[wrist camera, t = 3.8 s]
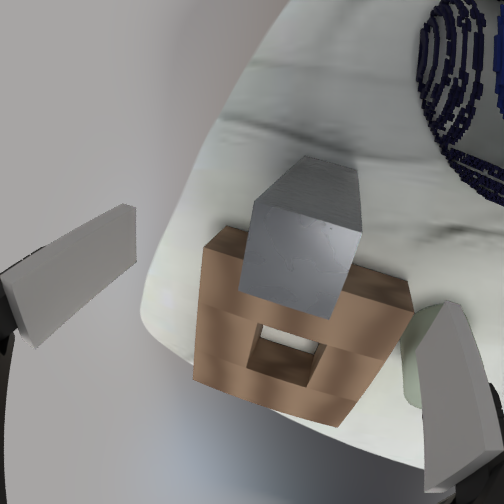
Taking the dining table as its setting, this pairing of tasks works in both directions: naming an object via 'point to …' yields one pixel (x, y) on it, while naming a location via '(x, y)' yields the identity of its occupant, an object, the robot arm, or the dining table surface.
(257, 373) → the socket block
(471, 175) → the decorative bowl
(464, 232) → the dining table surface
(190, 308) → the dining table surface
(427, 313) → the round stub
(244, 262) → the square bar
